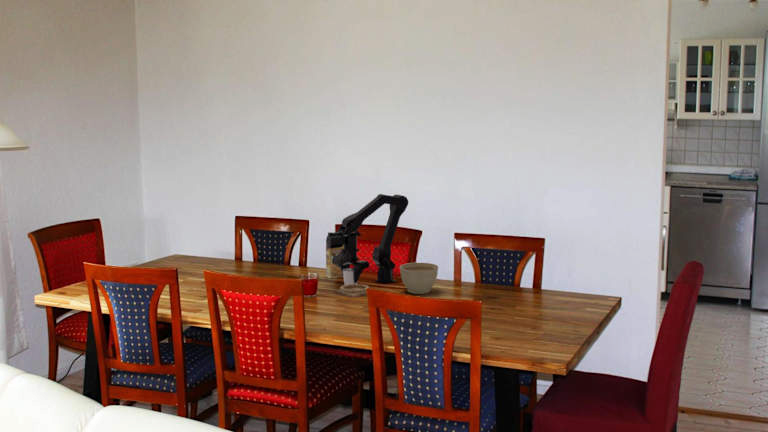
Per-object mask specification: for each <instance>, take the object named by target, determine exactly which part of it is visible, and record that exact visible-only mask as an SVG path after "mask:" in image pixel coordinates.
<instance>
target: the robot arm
mask: <svg viewBox="0 0 768 432" xmlns="http://www.w3.org/2000/svg"><path fill="white" fill-rule="evenodd" d="M384 205H389V215H388V219H387V222H386V225H385V228H384V231H383V234H382V237H381V240H380V243H379V245H378V246H376V245H375V246H374V248H373V251H372V253H371V255H372V257H371V258H372V261H373V262H374V263H375V264H376V267H378V268H377V273H376V274H377V277H376V278H377V279H375V282H377V283H378V282H379V283H381V284H382V283H383V284H387V283H393V282H396V279H394V269H395V267H396V264H395V263H394V262H393V261H392V259H391V257H392V250H391V247H392V244H393V241H394V237H395V234H396V231H397V227H398V225H399V222H400V218H401V216H402V215H403V214H404V213H405V212H406V209H407V207H408V205H409V199H408V198H407V196H406V195H401V194H398V193H397V194H394V195H388V194H382V193H378V195H377V196H376V197H374V198H373V199H372V200H371V201H369V202H368V203H367V204H366V205H365V206H363V207H362V208H360V210H358V211H357V212H354V213H352V214H349V215H347V216H346V217H344V218H343V219H342V220H341V224H340V227H339V228H337V231H336V232H332V231H331V232H330V231H329V232H327V236H326V238H325V243H326V244H325V246H326V245H327V247H328V248H340V247H342V246H343V245H344V249H342V250H341V253H340V254H338V255H336V256H335V257H333V259H332V263H333V264H335V265H336V266H338V267H339V268H340V269H341V271H342V274H343V269H346V268H351V269H352V271H353V273H354V283H357V284H358V282H357V281H359V279H360V277H361V275H362V273H363V271H364V270H365V269H369V268H370V262H369V261H368V260H365V259H364V260H363V259H362V260H360V257H358V252H360V248H358V237H361V236H362V233H360V231H359V228H361V226H362V225H363V222H364V221H365V220H366V219H367V218H369V217H370V216H371V215H373V213H375V212H376V211H378V210H379V209H380V208H382V206H384ZM351 265H352V267H351ZM342 278H344V276H343V277H342Z"/></svg>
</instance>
